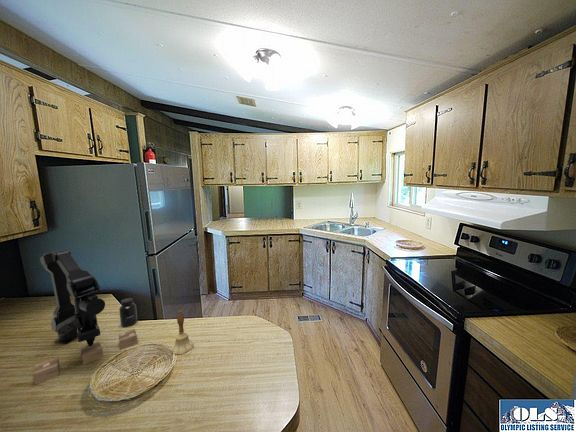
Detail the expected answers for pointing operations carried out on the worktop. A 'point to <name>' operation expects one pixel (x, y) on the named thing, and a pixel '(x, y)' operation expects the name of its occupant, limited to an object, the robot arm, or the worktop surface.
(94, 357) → the plain walnut block
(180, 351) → the hand bell
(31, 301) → the worktop surface
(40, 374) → the one-pip walnut block
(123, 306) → the supplement bottle
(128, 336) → the two-pip walnut block
